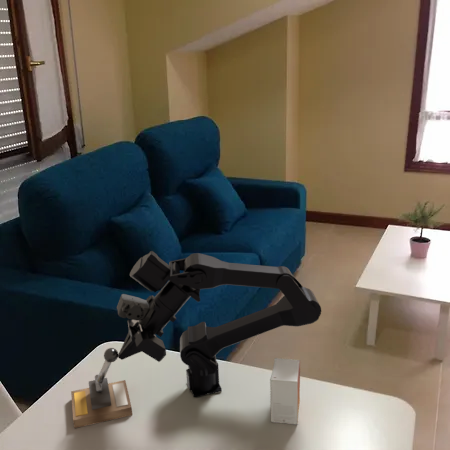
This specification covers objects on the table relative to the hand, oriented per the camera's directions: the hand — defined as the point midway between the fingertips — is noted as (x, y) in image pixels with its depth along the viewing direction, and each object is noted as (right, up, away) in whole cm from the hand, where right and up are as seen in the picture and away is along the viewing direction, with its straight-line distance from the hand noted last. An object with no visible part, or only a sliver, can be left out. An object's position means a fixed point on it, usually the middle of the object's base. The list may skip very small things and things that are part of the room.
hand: (119, 357), depth 115 cm
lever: (-5, -6, 0) cm, 7 cm away
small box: (+35, -11, -1) cm, 37 cm away
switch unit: (-4, -11, +2) cm, 12 cm away
